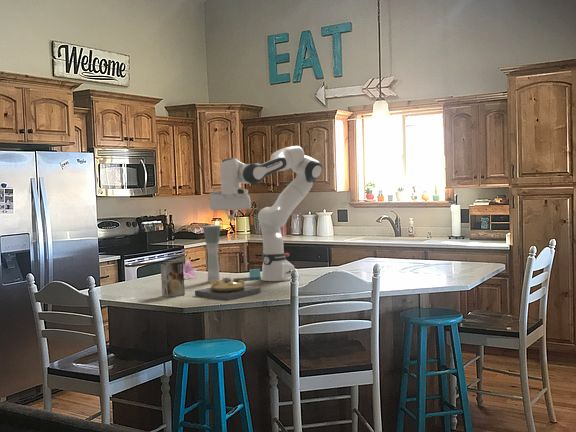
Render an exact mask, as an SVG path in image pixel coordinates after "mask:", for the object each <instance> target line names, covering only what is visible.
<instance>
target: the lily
mask: <svg viewBox="0 0 576 432" xmlns="http://www.w3.org/2000/svg"><path fill="white" fill-rule="evenodd" d="M195 271H197V268H195V267H192V265H191V261H190V259H188V260H186V262H185V263H183V273H184V280H187V279H189V277H192V278H194V279H197V274H196V273H195Z"/></svg>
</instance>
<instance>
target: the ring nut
mask: <svg viewBox="0 0 576 432" xmlns="http://www.w3.org/2000/svg"><path fill="white" fill-rule="evenodd" d="M248 271H249V276H248V277H245V276H244V277H235V278H233V279H231V277H221V279H220V280H219V281H217V280H210V282H211V283H210V288H211V290H212V291H237V290H242V289H244V288H245V286H246V285H245V282H251V281H252V282H253V281H262V280H261V268H253V269H251V268H250V269H249V270H248Z"/></svg>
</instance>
